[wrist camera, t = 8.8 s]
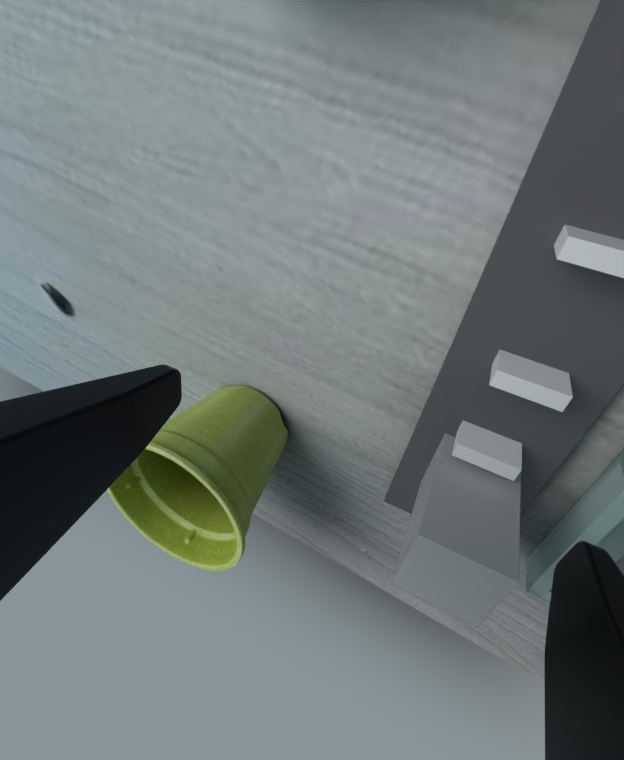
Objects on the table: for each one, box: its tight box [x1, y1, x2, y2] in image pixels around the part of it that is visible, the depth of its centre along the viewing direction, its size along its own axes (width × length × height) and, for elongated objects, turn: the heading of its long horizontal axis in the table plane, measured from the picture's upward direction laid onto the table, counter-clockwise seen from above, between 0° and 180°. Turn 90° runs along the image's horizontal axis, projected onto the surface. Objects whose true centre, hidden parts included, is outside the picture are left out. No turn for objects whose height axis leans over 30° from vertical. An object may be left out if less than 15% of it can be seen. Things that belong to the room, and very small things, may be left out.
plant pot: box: [107, 385, 288, 571], centre depth 26 cm, size 9×9×9 cm
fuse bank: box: [384, 0, 624, 627], centre depth 14 cm, size 7×30×8 cm, turn 169°
